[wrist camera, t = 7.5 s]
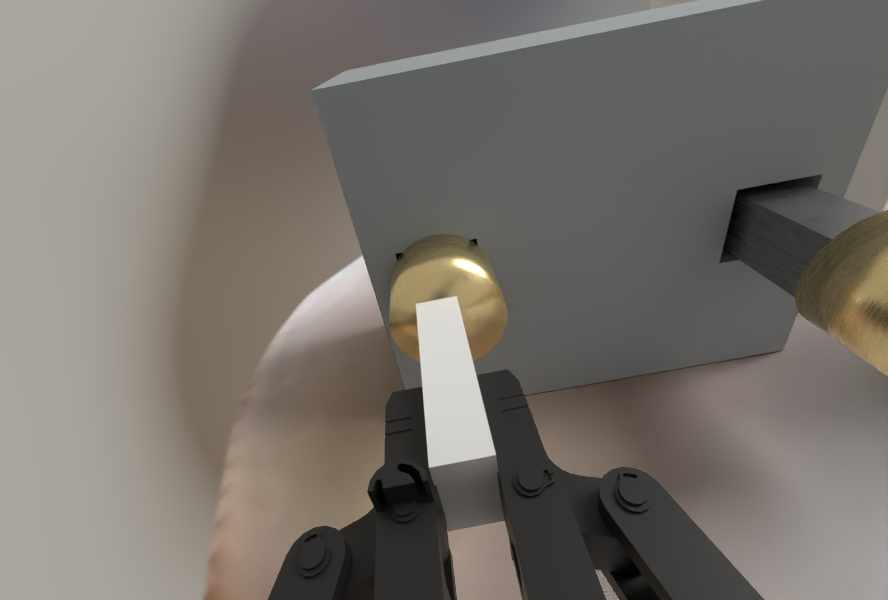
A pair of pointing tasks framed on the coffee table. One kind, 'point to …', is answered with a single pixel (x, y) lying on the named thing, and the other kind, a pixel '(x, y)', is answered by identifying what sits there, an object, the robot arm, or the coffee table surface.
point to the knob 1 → (446, 291)
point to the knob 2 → (819, 259)
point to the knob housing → (610, 172)
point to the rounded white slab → (881, 162)
